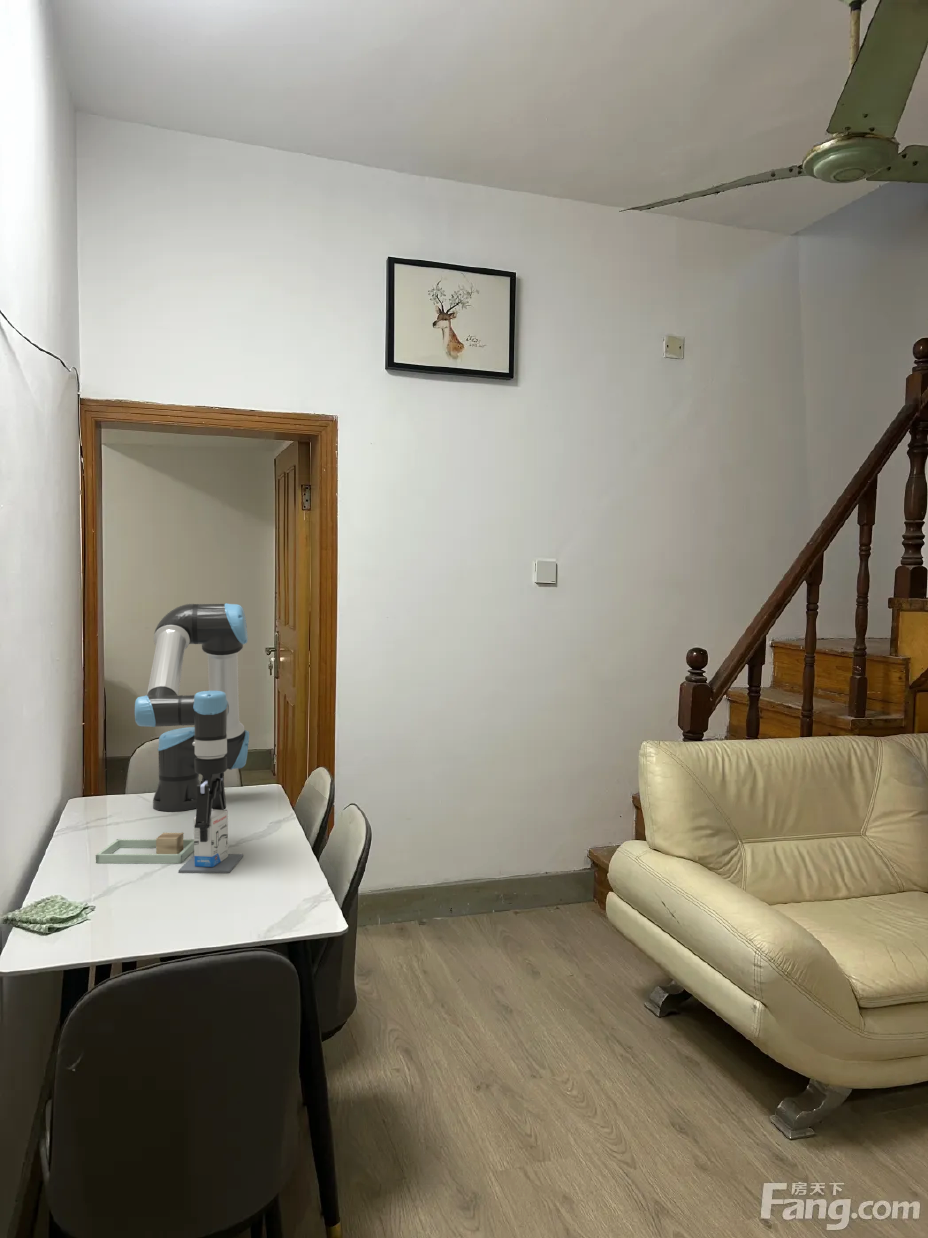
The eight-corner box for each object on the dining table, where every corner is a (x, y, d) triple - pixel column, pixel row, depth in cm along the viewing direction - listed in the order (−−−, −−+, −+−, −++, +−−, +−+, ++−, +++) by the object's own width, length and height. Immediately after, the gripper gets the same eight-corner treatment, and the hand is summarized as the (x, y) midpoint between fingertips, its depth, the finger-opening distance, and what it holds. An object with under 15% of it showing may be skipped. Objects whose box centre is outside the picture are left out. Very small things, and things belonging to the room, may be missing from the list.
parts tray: (117, 846, 215) (117, 839, 215) (197, 847, 215) (197, 839, 215) (95, 863, 203) (95, 855, 203) (180, 863, 203) (180, 855, 203)
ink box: (212, 868, 198) (211, 819, 197) (193, 866, 199) (192, 818, 198) (229, 856, 206) (228, 809, 206) (210, 855, 207) (210, 808, 206)
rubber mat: (194, 856, 208) (194, 854, 208) (242, 856, 208) (242, 854, 208) (178, 873, 196) (178, 870, 196) (229, 873, 196) (229, 870, 196)
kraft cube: (163, 852, 212) (163, 832, 211) (183, 852, 212) (183, 832, 211) (156, 858, 207) (156, 838, 206) (176, 858, 207) (176, 838, 206)
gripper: (209, 746, 212) (209, 833, 213) (179, 765, 190) (180, 862, 191) (238, 746, 212) (239, 834, 213) (212, 765, 190) (213, 863, 191)
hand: (211, 847), depth 202 cm, fingers open, 9 cm apart
